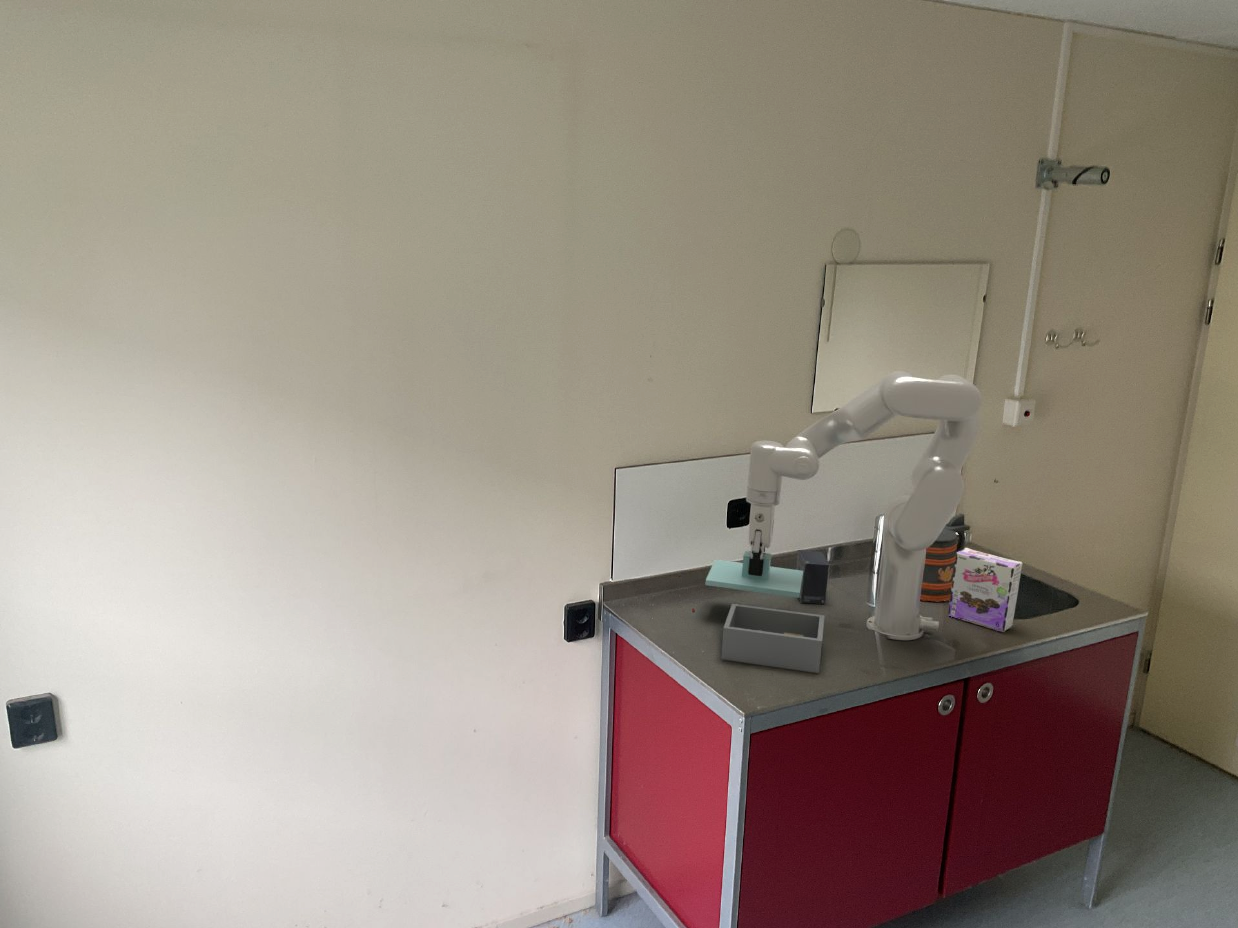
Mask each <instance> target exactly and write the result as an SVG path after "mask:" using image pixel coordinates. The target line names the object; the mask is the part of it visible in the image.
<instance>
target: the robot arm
mask: <svg viewBox="0 0 1238 928" xmlns="http://www.w3.org/2000/svg"><path fill="white" fill-rule="evenodd" d="M982 402H983V400H982V394H981V392H980V390H979V389H978V387H976V385H975V384H974V383H972V382H970V381H969V380H967V379H966V378H964V377H963V376H960V375H958V374H952V373H951V374H950V373H949V374H945V375H942V376H940V377H939V378H938V379H929V378H924V377H923V378H921V377H916V376H913V375H912V374H911V373H909V372H906V371H903V370H895V371H892V372H890V373H888V374H886V375H885V376H883V377H882V378H880V379H879V380H878V381H876V382H875V383H873V384H872V385H871V386H870V387H868V388H867V389H866V390H864V391H863V392H861V393H860V394H858V395H856V397H854V398H853V399H851V400H850V401H849V402H847V403H846V404H844V405H842V407H840V408H837V409H836V410H834V411H832V412H831V413H829V414H827V415H826V416H824V417H823V418H821V419H819V420H817V421H815V422H814V423H813V424H810V425H809V426H808V427H807V428H806V429H804V430H802V431H800V433H798V434H797V435H795V436H794V437H793V438H792V439H790V440H789V441H788V442H787V443H786V445H785V446H784V445H783V444H782V443H780V442H778V441H773V440H758V441H754V442H753V443H752V444H751V447H750V455H749V465H748V477H747V490H746V498H745V501H746V502H747V503H749V504H750V512H749V525H748V545H749V547H750V548H751V550H750V551H751V556H750V559H749V570H748V574H749V575H755V576H762V573H763V563H764V559H763V553H766V549H769V548H770V547H771V545H772V542H773V537H774V536H773V535H774V525H775V524H774V523H775V511H776V506H779V504H780V503H781V502H780V501H781V499H780V498H781V493H782V483H783V481H782V479H783V477H785V478H789V479H793V480H798V481H807V480H810V479H812V478H813V477H815V476H816V475H817V473H819V472H818V471H819V468H820V458H822V457H823V456H824V455H826V454H828V453H829V452H831V451H832V450H834V449H836V448H837V447H839V446H841V445H843V444H844V445H845V444H846V443H849V442H857V441H861V440H864V439H866V438H869V436H870V435H872V434H873V433H874V432H876V431H878V430H879V429H880V428H881V427H883V426H885V424H887V423H888V422H891V420H892V419H894V418H896V417H897V416H901V417H907V418H913V419H914V418H915V419H923V420H933V421H938V424H937V427H936V430H935V432H934V433H933V435H932V437H931V439H930V441H929V443H928V444H927V447H926V448H925V449H924V451H923V453H922V454H921V456H920V458H919V459H918V461H917V462H916V464H915V466H914V467H913V469H912V472H911V474H910V476H911V477H910V479H911V484H912V487H913V488H914V490H913V491H912V493H911V495H908V494H907V495H899V496H897V497H895V498H894V499H892V500H891V501H890V502H889V503H888V505H887V506H886V508H885V510H884V514H883V520H882V521H883V522H882V523H883V524H882V528H883V529H882V546H881V547H882V549H881V555H880V556H881V558H880V565H879V566H880V567H879V573H878V583H877V593H876V599H875V600H876V601H875V608H874V615H873V616H871V617H869V618H868V619H867V620H866V628H867V629H868V630H872V631H875V632H877V633H880V634H882V635H886V638H887V639H891V640H896V641H912V640H913V641H914V640H917V639H920V638H921V637H922V636H923V635H924V629H925V628H926V629H929V630H939V627H940V622H939V620H933V617H929V616H927V617H926V616H923V615H921V613H920V602H921V600H920V596H921V588H922V580H923V572H924V566H925V557H926V548H928V547H929V546H931V545H932V544H933V543H934V542H935V540H936V539H937V538H938V536H939V535H940V533H941V532H942V530H943V528H944V527H945V525H946V524H948V523H949V521H950V520H951V519H950V518H951V517H952V515H953V514H954V512H955V510H956V508H957V507H958V505H959V503H960V502H961V500H962V497H963V494H964V489H965V482H964V478H963V476H962V474H961V472H960V471H961V469H962V468H963V465H964V464H965V462H966V460H967V458H968V457H969V454H970V453H971V451H972V449H973V448H974V445H975V443H976V441H977V439H978V435H979V430H980V424H981V421H980V420H981V419H980V410H981V406H982V405H983V404H982Z"/></svg>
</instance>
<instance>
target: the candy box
mask: <svg viewBox="0 0 1238 928" xmlns="http://www.w3.org/2000/svg"><path fill="white" fill-rule="evenodd" d="M1022 569H1023V562H1022V561H1020V560H1013V559H1011V558H1010V559H1009V558H1005V557H1003V556H1002V557H1001V556H997V555H993V554H990V553H987V552H986V553H985V552H982V551H980V550H975V549H971V548H969V547H964V549H963V550H961V551H959V552H957V554H956V560H955V568H954V575H953V582H952V589H951V597H950V600H949V606H948V612H947V616H948V617H949V616H951V617H950V618H952V617H955V618H960V619H965V620H968V621H974V622H977V623H980V624H983V625H987V626H989V627H993V628H994V629H998V630H1003V631H1004V630H1006V629H1008V628H1009V627H1011V626H1012V625H1013V626H1014V617H1015V612H1016V605H1017V599H1018V594H1019V588H1020V587H1019V586H1020V581H1021V580H1020V579H1021V574H1022ZM955 618H954V619H955Z"/></svg>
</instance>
